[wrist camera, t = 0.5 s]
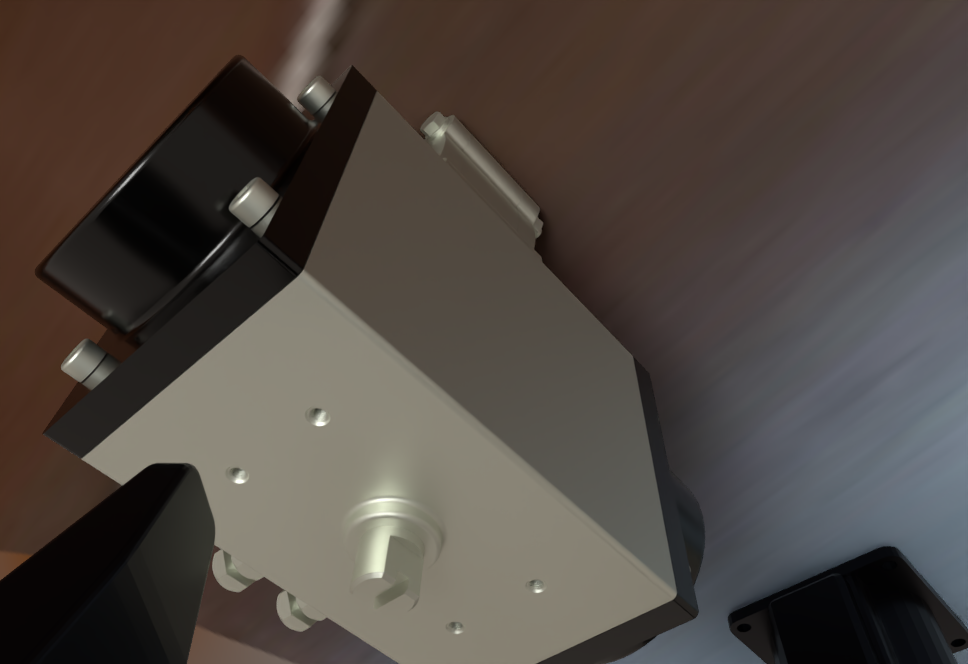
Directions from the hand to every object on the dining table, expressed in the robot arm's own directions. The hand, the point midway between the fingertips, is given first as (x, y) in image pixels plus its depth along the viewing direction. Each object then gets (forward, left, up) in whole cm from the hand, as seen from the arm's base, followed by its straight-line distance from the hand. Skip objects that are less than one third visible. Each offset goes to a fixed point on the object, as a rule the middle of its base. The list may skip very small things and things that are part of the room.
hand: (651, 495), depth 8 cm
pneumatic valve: (-1, +5, -13) cm, 14 cm away
